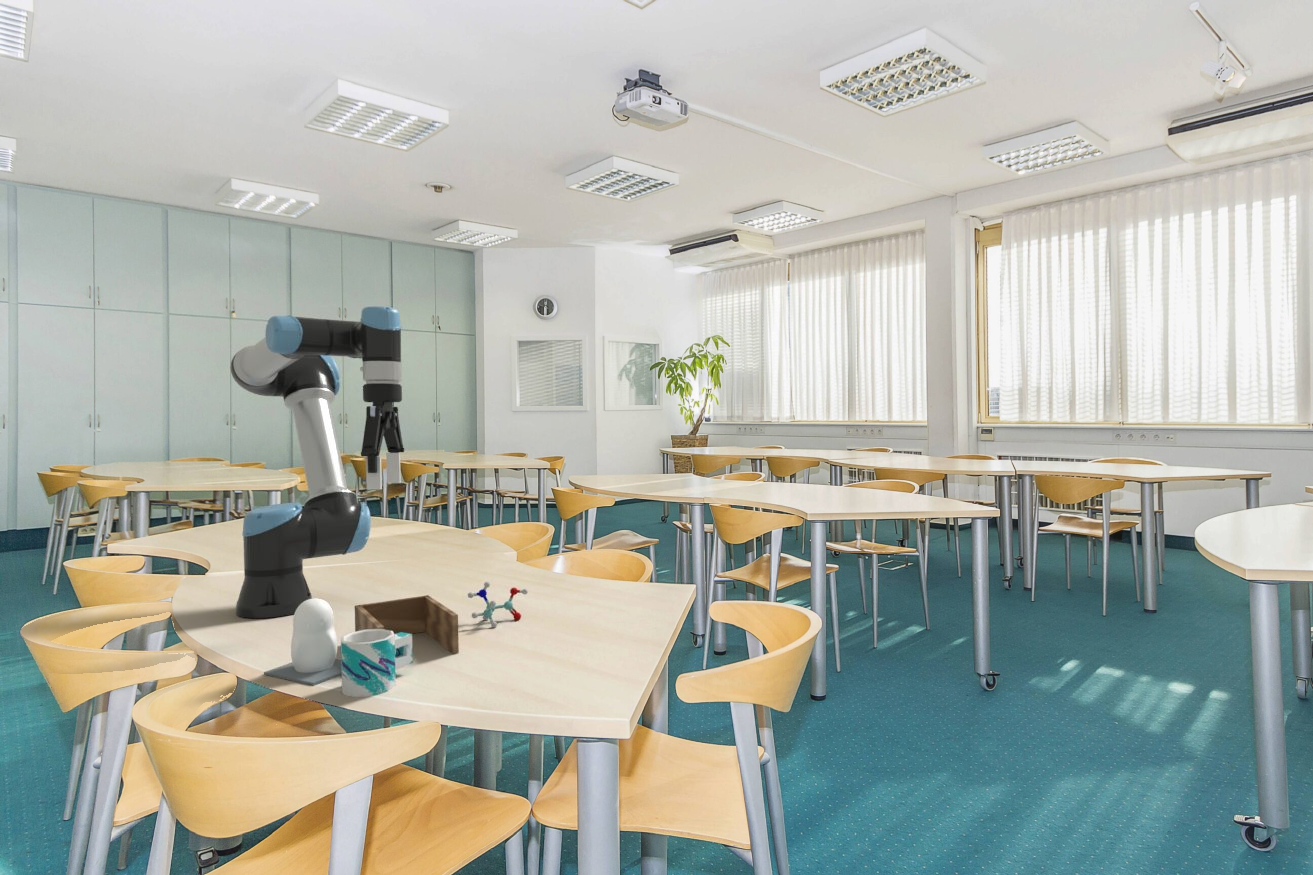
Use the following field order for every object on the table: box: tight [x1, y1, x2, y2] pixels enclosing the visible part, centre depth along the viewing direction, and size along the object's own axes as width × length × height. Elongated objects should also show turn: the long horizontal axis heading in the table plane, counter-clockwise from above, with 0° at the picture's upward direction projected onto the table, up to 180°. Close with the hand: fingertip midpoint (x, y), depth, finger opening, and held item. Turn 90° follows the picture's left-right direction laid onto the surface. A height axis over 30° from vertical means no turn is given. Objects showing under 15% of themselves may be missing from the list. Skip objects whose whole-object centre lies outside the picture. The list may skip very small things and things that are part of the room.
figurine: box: [290, 597, 338, 673], centre depth 127 cm, size 7×8×12 cm
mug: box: [340, 629, 414, 698], centre depth 121 cm, size 8×12×8 cm
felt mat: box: [263, 658, 342, 686], centre depth 127 cm, size 12×10×1 cm
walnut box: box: [354, 594, 460, 655], centre depth 139 cm, size 18×14×7 cm
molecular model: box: [467, 581, 529, 629], centre depth 156 cm, size 12×10×10 cm
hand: (384, 486), depth 154 cm, fingers open, 13 cm apart
